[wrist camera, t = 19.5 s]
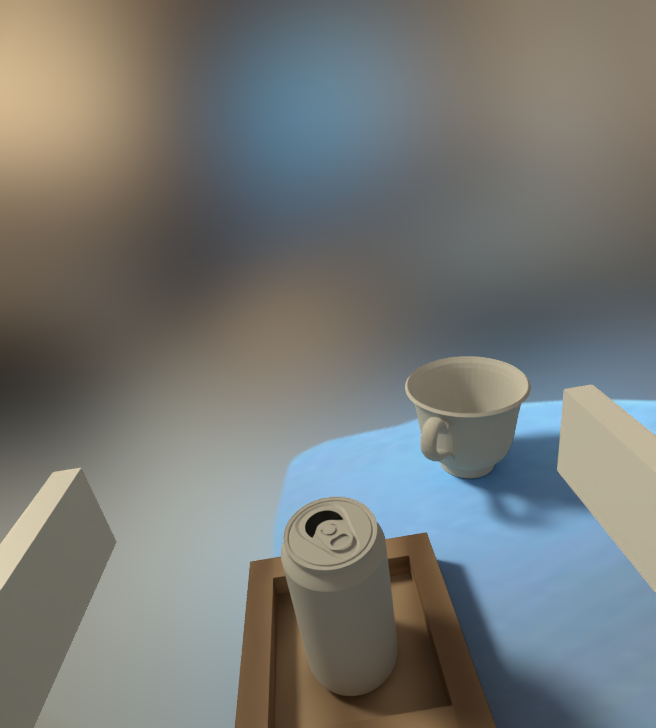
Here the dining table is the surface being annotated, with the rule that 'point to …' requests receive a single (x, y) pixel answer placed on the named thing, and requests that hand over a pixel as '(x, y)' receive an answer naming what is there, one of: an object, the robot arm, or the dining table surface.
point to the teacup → (467, 411)
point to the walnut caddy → (403, 686)
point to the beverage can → (341, 594)
